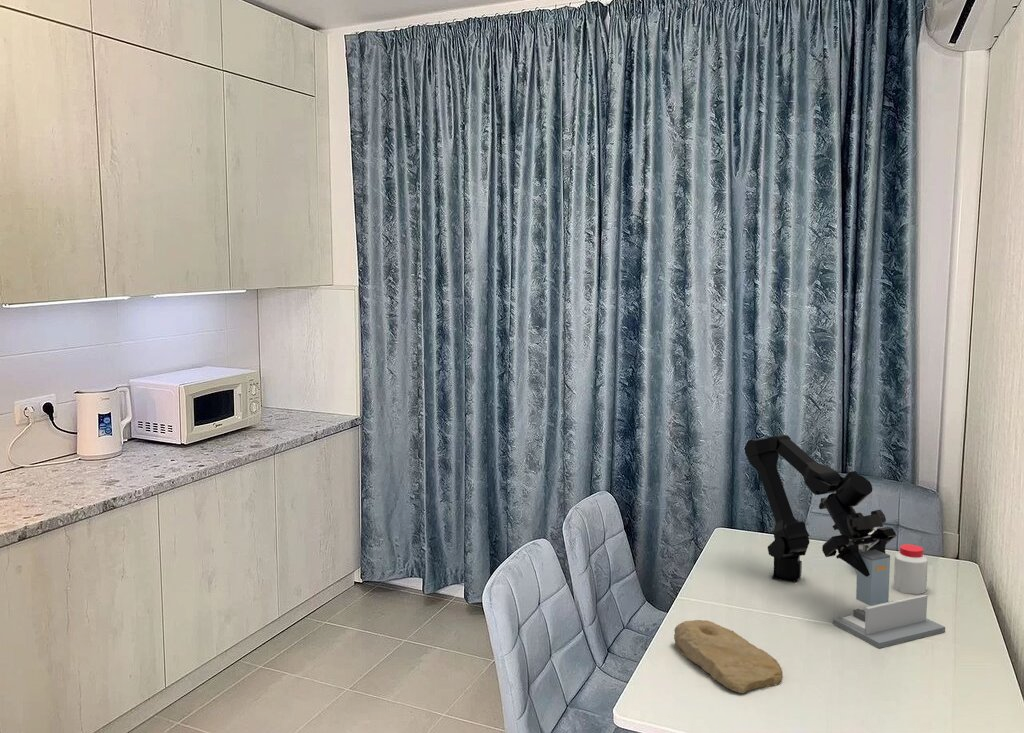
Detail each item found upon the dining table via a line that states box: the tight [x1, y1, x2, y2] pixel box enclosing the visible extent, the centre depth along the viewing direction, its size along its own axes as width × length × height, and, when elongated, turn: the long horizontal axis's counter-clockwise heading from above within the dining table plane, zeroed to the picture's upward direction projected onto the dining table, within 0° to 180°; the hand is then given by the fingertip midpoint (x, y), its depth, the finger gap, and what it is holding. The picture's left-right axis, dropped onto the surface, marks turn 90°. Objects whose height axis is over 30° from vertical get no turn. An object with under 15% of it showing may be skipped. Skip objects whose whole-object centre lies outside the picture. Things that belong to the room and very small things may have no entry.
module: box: [855, 550, 891, 607], centre depth 201 cm, size 5×6×12 cm
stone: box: [673, 619, 784, 694], centre depth 182 cm, size 15×26×6 cm, turn 22°
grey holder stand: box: [832, 594, 946, 649], centre depth 197 cm, size 14×20×7 cm
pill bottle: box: [893, 543, 929, 595], centre depth 220 cm, size 8×8×11 cm
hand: (877, 573), depth 199 cm, fingers closed on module, 5 cm apart
